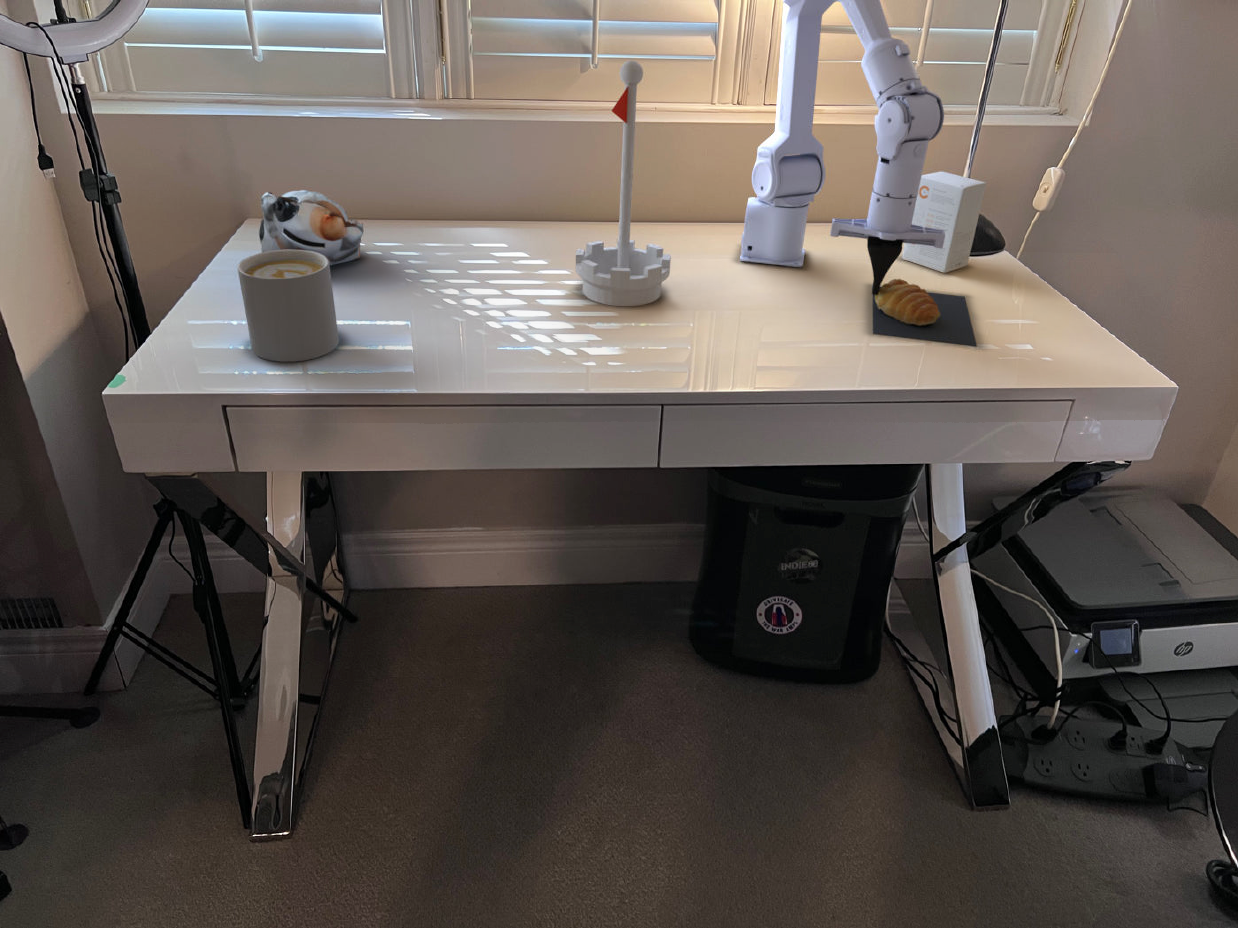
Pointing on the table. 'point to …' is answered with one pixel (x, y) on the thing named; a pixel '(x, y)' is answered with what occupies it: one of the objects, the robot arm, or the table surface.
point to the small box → (946, 219)
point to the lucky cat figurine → (309, 226)
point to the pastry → (907, 303)
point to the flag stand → (624, 229)
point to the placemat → (946, 329)
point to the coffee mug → (289, 304)
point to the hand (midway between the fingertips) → (875, 292)
